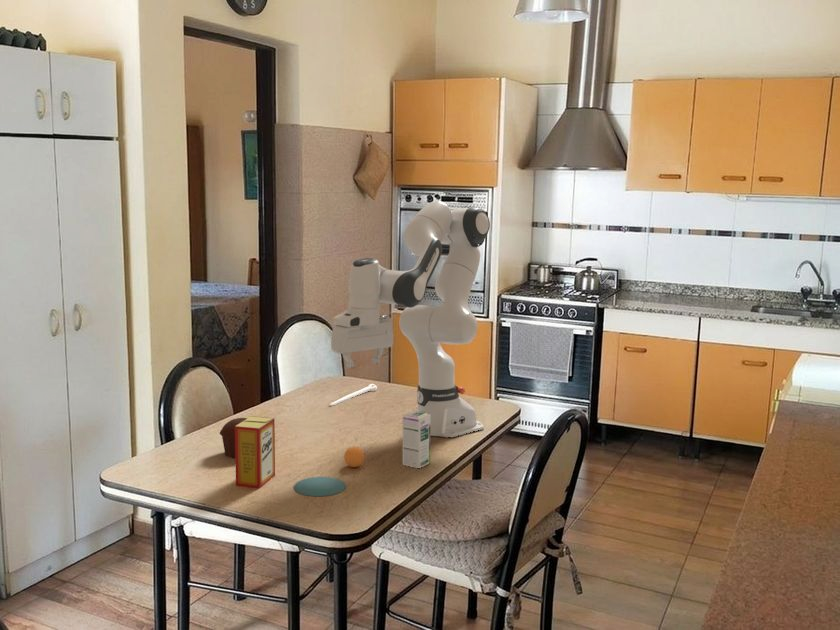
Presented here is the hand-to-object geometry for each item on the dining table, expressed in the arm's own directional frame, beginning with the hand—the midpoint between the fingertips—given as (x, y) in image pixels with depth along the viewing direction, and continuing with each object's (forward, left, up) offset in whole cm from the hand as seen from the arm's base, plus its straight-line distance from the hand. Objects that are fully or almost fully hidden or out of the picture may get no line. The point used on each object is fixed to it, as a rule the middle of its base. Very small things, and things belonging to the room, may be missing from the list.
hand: (362, 365), depth 232 cm
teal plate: (+21, +19, -26) cm, 38 cm away
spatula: (-23, -55, -26) cm, 66 cm away
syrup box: (-9, +15, -26) cm, 31 cm away
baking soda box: (+34, +7, -26) cm, 43 cm away
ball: (+7, +9, -23) cm, 26 cm away
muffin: (+31, -15, -26) cm, 43 cm away
